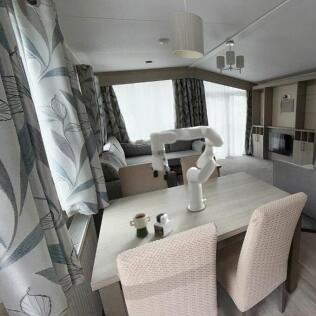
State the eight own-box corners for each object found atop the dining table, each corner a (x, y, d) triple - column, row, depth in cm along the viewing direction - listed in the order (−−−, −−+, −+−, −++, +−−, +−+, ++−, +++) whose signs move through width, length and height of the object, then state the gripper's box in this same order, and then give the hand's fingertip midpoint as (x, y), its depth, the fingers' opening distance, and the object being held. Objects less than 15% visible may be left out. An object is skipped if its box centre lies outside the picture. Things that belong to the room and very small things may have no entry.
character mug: (151, 229, 124) (148, 210, 121) (153, 235, 118) (150, 215, 115) (131, 235, 118) (128, 215, 115) (132, 241, 113) (129, 221, 109)
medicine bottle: (154, 234, 119) (152, 217, 116) (162, 228, 125) (160, 211, 122) (164, 237, 116) (162, 219, 113) (172, 230, 123) (170, 213, 120)
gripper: (172, 152, 121) (175, 179, 125) (154, 150, 130) (157, 174, 134) (162, 155, 115) (165, 182, 119) (144, 152, 123) (147, 178, 128)
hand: (161, 178), depth 126 cm, fingers open, 9 cm apart
